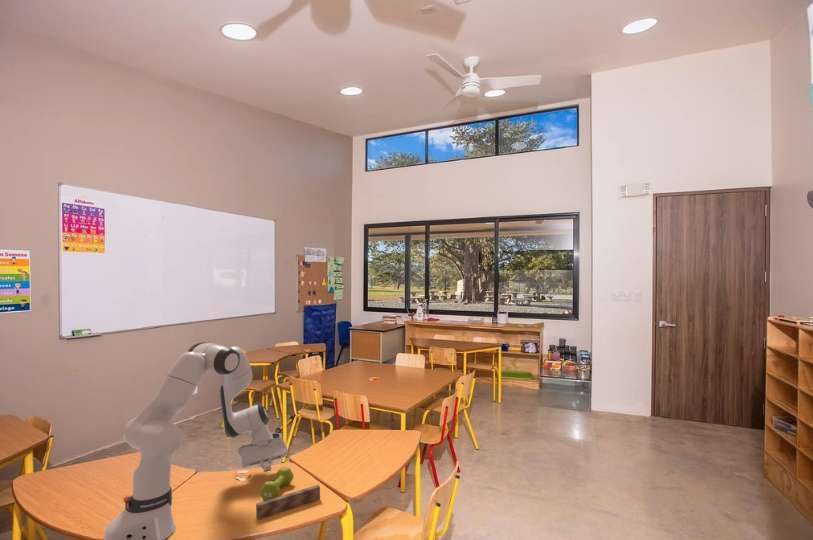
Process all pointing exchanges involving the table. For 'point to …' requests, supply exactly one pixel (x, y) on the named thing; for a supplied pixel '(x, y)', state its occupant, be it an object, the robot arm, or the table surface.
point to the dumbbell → (276, 484)
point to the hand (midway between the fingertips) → (267, 470)
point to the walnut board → (287, 502)
